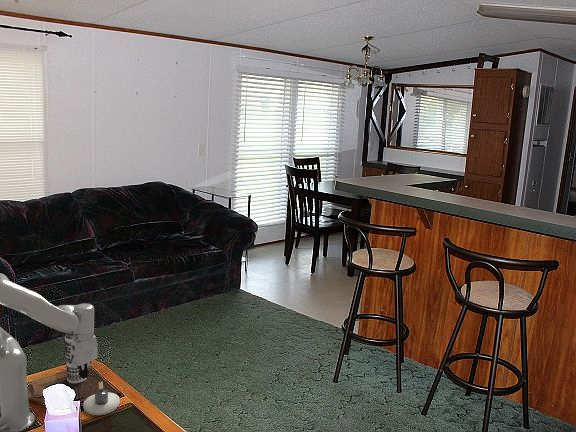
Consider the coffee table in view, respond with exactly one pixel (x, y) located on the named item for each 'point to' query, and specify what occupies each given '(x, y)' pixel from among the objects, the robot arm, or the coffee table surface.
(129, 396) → the coffee table surface
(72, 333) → the grey tall cylinder
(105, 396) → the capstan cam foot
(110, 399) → the white plate
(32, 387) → the sunglasses case
